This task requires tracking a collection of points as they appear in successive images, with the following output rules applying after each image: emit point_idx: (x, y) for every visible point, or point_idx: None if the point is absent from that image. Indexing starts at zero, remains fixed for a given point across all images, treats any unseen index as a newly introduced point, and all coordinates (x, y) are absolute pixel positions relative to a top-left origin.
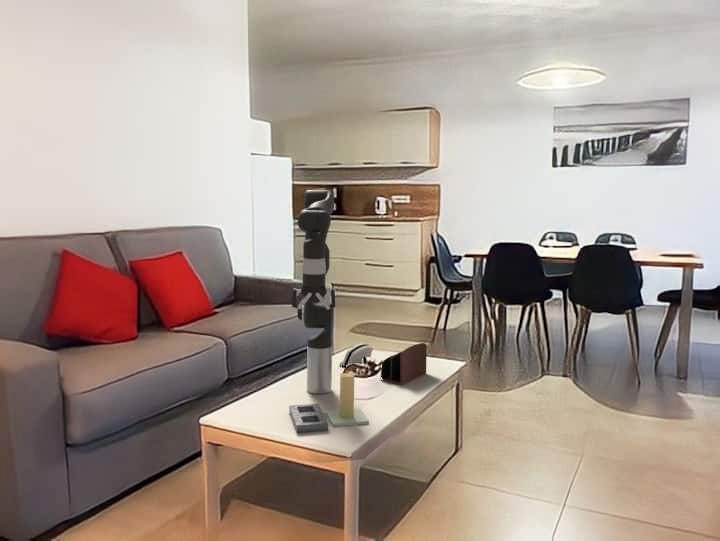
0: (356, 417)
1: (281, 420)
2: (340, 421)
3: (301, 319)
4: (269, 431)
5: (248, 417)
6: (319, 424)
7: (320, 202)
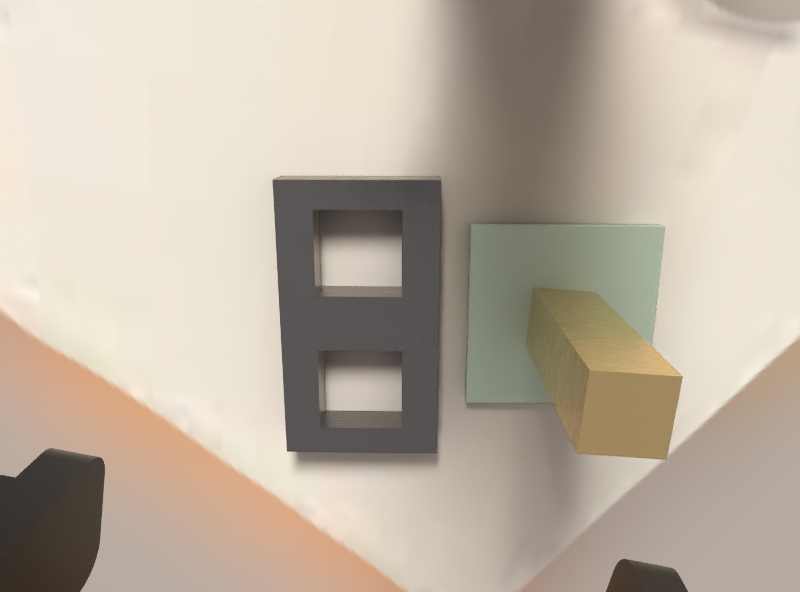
0: None
1: (235, 274)
2: (509, 383)
3: (80, 579)
4: (176, 391)
5: (70, 202)
6: (394, 451)
7: None
